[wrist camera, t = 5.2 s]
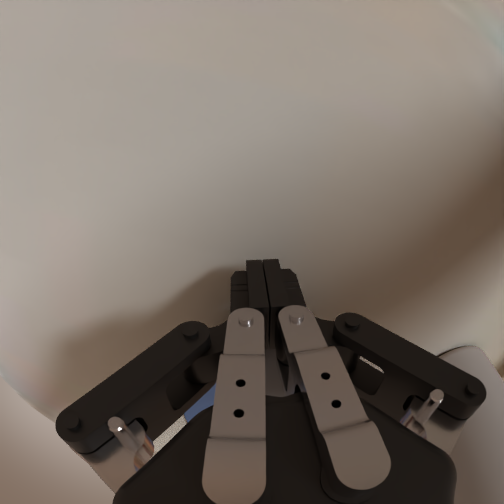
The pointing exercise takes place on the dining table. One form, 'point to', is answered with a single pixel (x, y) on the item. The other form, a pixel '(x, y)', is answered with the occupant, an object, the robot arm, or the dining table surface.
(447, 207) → the dining table surface
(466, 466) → the cylinder vase
